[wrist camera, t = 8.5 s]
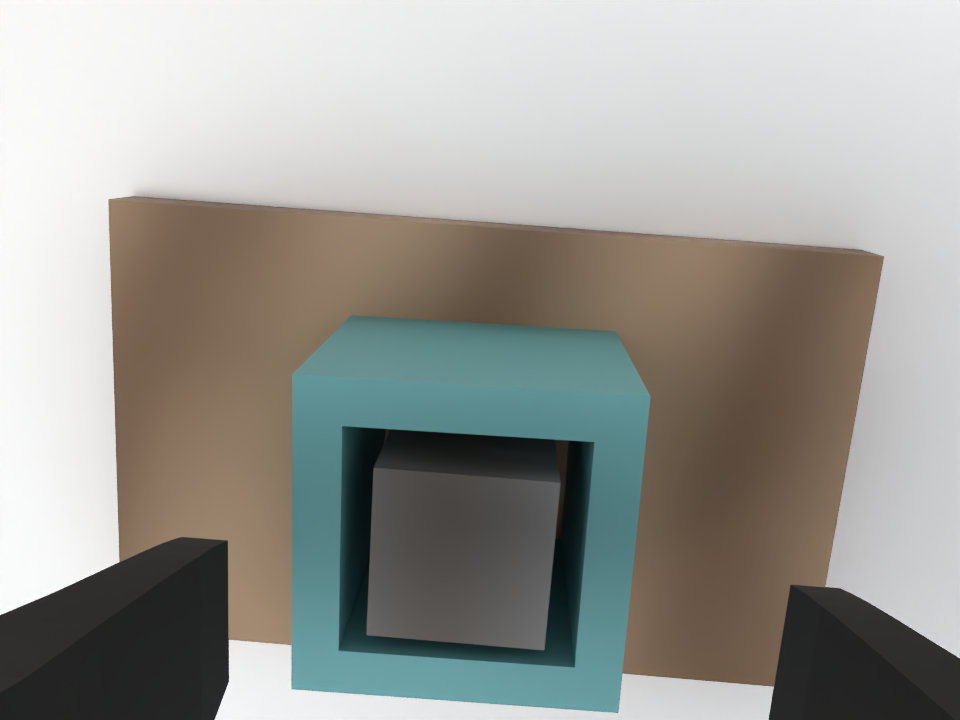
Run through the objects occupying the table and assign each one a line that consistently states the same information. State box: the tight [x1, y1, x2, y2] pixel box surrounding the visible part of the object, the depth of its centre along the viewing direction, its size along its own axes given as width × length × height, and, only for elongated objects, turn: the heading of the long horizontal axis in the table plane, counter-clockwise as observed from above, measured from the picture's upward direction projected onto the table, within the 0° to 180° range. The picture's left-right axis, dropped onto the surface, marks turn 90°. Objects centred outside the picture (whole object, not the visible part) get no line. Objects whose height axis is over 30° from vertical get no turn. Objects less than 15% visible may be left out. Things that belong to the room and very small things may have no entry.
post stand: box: [109, 196, 884, 686], centre depth 17 cm, size 16×10×6 cm, turn 86°
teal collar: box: [292, 315, 651, 713], centre depth 17 cm, size 6×6×5 cm
